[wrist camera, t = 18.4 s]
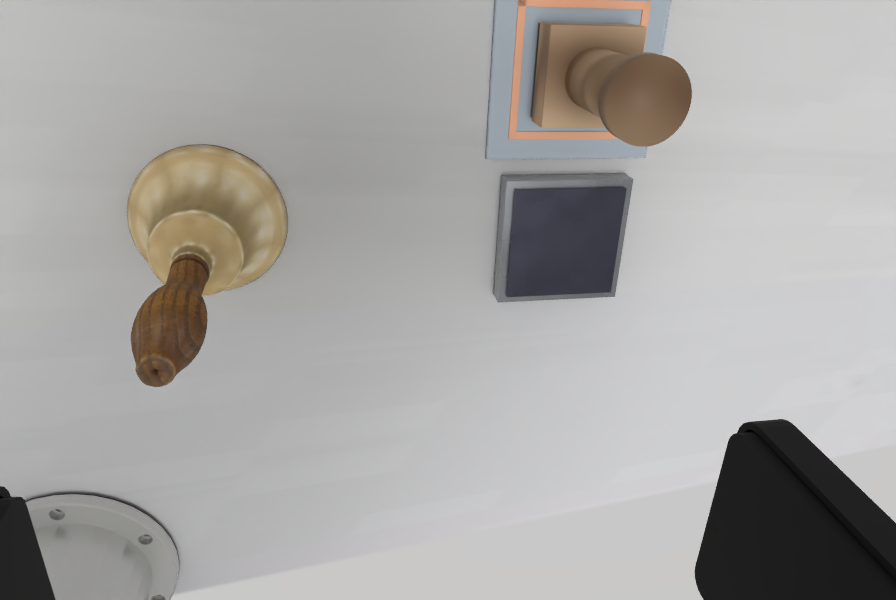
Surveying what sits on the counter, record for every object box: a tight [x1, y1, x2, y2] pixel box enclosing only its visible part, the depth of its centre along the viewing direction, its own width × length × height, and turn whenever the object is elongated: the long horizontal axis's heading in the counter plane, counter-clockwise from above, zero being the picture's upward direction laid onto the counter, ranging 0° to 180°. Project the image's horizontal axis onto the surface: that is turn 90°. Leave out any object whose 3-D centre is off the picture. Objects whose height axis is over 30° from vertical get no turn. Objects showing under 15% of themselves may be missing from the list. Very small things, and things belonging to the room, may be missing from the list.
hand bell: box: [127, 145, 288, 387], centre depth 30 cm, size 8×8×16 cm
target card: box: [486, 0, 671, 160], centre depth 37 cm, size 10×10×1 cm
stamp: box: [531, 22, 692, 147], centre depth 33 cm, size 5×5×9 cm
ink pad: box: [493, 173, 633, 302], centre depth 41 cm, size 8×8×2 cm
